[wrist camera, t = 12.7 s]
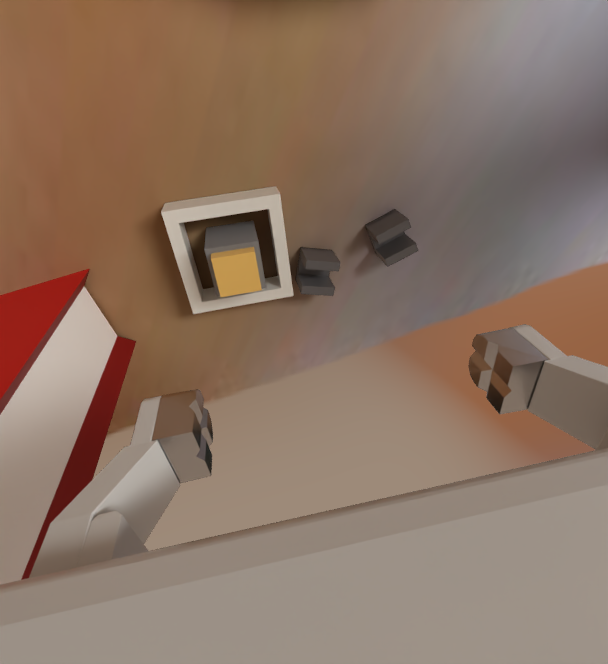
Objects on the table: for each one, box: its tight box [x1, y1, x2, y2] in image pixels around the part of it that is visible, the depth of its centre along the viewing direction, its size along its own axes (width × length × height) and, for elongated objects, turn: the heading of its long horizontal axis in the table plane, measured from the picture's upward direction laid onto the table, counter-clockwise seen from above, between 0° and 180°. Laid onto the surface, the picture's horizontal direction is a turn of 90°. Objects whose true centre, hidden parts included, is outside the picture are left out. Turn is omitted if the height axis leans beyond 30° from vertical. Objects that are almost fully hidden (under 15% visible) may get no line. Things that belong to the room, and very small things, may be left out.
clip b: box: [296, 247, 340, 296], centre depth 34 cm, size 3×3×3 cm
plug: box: [204, 221, 266, 297], centre depth 31 cm, size 4×4×6 cm
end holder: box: [161, 186, 294, 314], centre depth 32 cm, size 9×9×2 cm
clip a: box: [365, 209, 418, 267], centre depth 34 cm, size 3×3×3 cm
